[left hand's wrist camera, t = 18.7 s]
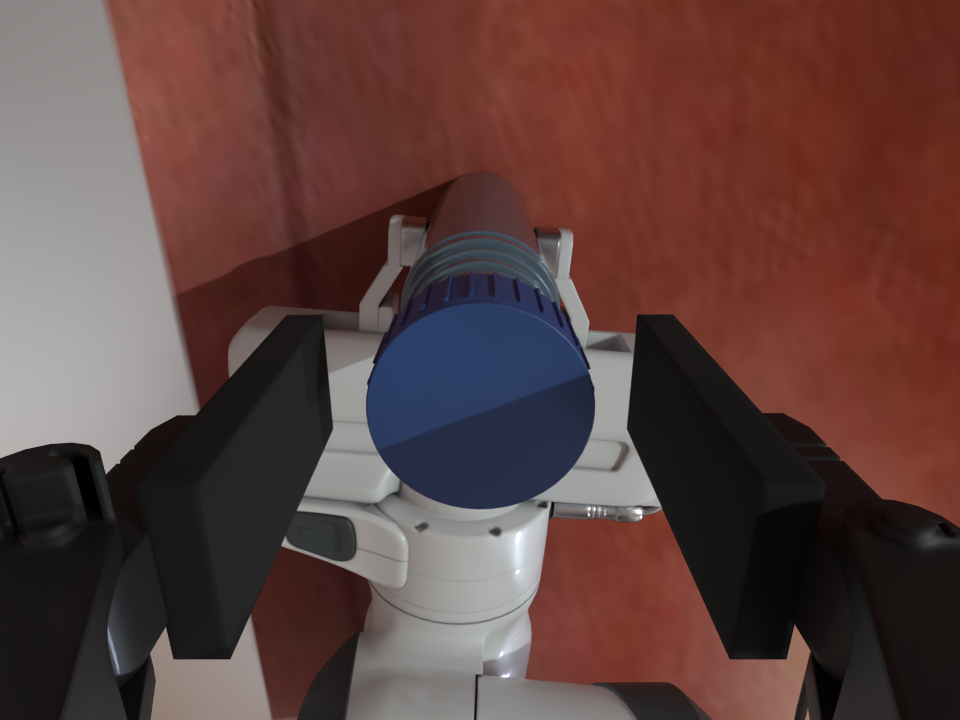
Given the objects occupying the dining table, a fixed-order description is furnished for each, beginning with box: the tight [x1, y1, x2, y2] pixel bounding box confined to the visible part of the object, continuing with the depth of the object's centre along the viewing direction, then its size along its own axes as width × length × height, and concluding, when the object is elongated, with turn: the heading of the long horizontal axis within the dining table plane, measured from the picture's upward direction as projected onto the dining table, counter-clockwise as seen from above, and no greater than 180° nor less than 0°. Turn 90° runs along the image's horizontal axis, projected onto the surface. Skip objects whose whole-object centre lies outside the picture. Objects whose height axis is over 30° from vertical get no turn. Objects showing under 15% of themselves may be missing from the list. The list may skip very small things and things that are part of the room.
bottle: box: [400, 172, 561, 312], centre depth 23 cm, size 4×4×22 cm
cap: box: [366, 272, 595, 510], centre depth 13 cm, size 4×4×2 cm
